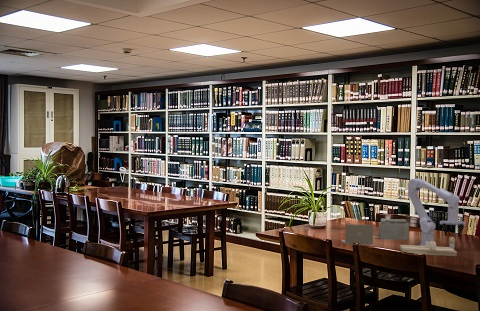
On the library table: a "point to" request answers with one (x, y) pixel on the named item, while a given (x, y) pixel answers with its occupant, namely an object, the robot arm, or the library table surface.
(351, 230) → the laptop
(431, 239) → the robot arm
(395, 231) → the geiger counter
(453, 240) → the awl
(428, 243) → the finder
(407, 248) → the board
